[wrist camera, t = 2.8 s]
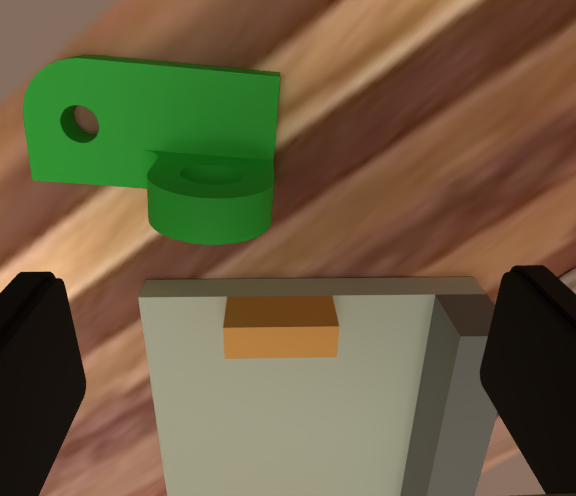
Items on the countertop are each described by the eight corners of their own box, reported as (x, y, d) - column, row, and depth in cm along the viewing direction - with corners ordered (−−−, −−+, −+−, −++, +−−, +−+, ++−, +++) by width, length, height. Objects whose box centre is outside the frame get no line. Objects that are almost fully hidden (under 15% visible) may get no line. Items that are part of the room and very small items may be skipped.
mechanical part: (279, 71, 24) (284, 97, 17) (270, 185, 27) (271, 248, 20) (32, 48, 23) (-72, 65, 16) (48, 168, 26) (-35, 228, 19)
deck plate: (473, 277, 30) (518, 335, 24) (425, 501, 39) (451, 580, 34) (146, 279, 29) (118, 341, 24) (177, 508, 38) (162, 590, 33)
